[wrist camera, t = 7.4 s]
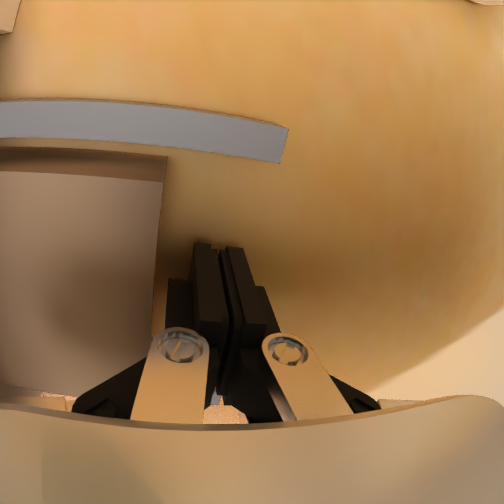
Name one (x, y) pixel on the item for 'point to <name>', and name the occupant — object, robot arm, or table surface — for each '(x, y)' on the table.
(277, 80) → the table surface
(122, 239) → the walnut tile
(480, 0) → the can
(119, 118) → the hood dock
